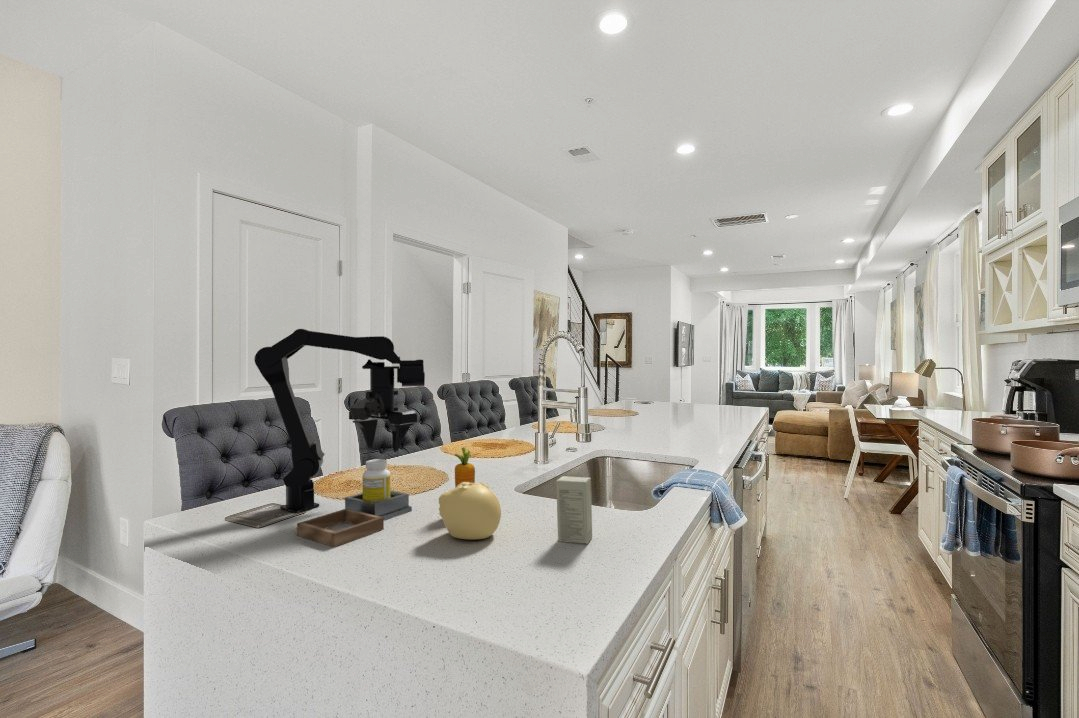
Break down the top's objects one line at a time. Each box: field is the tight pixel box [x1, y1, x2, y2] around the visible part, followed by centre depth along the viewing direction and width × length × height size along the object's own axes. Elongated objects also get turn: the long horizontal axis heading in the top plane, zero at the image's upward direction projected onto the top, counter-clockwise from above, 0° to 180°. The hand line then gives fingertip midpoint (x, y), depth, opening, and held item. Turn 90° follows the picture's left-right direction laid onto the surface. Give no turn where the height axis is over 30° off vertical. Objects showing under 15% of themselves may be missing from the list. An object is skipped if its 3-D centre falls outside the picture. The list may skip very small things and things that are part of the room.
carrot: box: [454, 447, 476, 488], centre depth 124 cm, size 5×5×15 cm
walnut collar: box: [296, 508, 385, 548], centre depth 111 cm, size 12×12×2 cm
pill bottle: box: [362, 458, 391, 503], centre depth 124 cm, size 6×6×11 cm
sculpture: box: [438, 482, 502, 541], centre depth 109 cm, size 11×12×11 cm
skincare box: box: [555, 475, 593, 544], centre depth 106 cm, size 6×4×12 cm
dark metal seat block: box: [344, 489, 413, 521], centre depth 124 cm, size 11×11×4 cm
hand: (382, 449), depth 133 cm, fingers open, 9 cm apart
